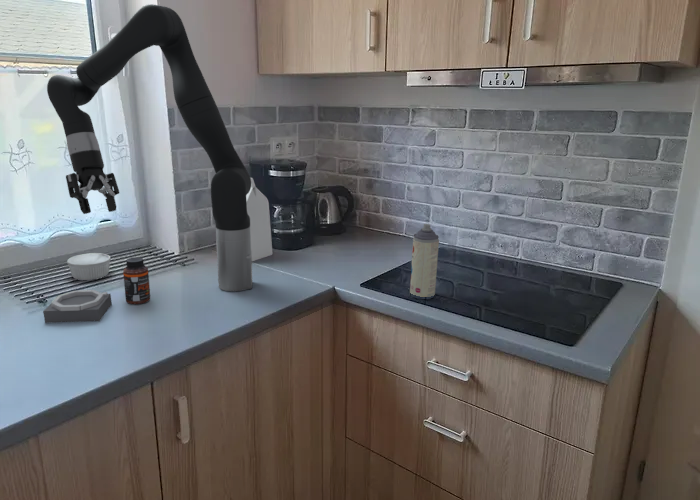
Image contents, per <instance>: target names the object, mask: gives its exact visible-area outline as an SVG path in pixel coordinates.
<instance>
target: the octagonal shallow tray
mask: <svg viewBox="0 0 700 500" xmlns="http://www.w3.org/2000/svg"><path fill="white" fill-rule="evenodd" d="M112 305H113V304H112V295H111V293H108V292H106V291H103V292H100V291H98V290H95V289H86V290H85V289H81V290H80V289H78V290H72V291H69V292H66V293H63V294H59V295H57V296H56V297H54V299H53V300H52V301H51V302H50V304H49V305H48V306H47V307H46V308H45V309H44V310H43V312H42V313H43V318H44V324H56V323H57V324H58V323H59V324H60V323H61V324H62V323H84V322H86V323H87V322H101V320H102V319H103V318H104V316H105V315H106V313H107V312H108V310H109V309H110V308H111V306H112Z"/></svg>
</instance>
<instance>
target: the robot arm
mask: <svg viewBox="0 0 700 500" xmlns="http://www.w3.org/2000/svg"><path fill="white" fill-rule="evenodd" d="M153 46H156V47H157V46H158V47H159V48H160V50H161V52H162V54H163V56H164V57H165V60H166V62H167V64H168V66H169V69H170V73H171V77H172V88H173V96H174V101H175V103H176V107H177V109H178V111H179V114H180V116H181V118H182V120H183V122H184V124H185V126H186V128H187V129H188V130H189V132H190V134H191V135H192V136H193V137H194V139H195V140H196V141H197V142H198V143H199V144H200V146H201V148H202V149H204V151H205V152H206V154H207V155H208V158H209V160H210V161H211V164H212V167H213V169H214V172H215V174H214V175H213V177H212V178H211V182H210V197H211V198H210V199H211V211H212V216H213V220H214V222H215V223H214V225H215V241H216V243H215V244H216V259H217V260H216V262H217V281H218V288H219V289H220V290H221V291H226V292H242V291H245V290H249V289H250V290H251V289H252V288H253V261H252V251H251V234H250V217H249V215H248V213H247V202H246V195H247V194H248V193H249V191H250V188H251V178H252V177H251V176H250V174H249V172H248V169H247V168H246V166H245V165H244V162H242V160H241V158H240V156H239V154H238V153H237V151H236V149H235V147H234V145H233V143H232V140H231V138H230V135H229V132H228V130H227V127H226V125H225V123H224V120H223V118H222V115H221V113H220V111H219V108H218V106H217V103H216V102H215V98H214V96H213V95H212V92H211V90H210V88H209V86H208V83H207V82H206V79H205V77H204V74H203V73H202V71H201V68H200V66H199V64H198V62H197V60H196V58H195V55H194V51H193V49H192V47H191V43H190V40H189V38H188V34H187V31H186V27H185V26H184V22H183V20H182V18H181V17H180V15H179V14H178V13H177V12H176V11H175V10H174V9H173V8H170V7H168V6H165V5H164V6H163V5H159V4H154V3H153V4H146V5H143V6H142V7H140V8H139V9H138V10H137V11H136V12H135V13H134V14H133V15H132V16H131V17H130V19H129V20H128V21H127V22H126V24H125V25H124V26H122V28H120V30H119V31H118V32H117V33H116V34H115V35H114V36H113V37H112V38H111V39H109V41H107V43H105V44H104V45H103V46H102V47H100V48H99V49H97V50H96V51H95V52H94V53H92V54H91V55H90V56H88V57H86V59H84V60H83V61H81V62H80V63H79V64H78V65H77V67H76V70H75V72H76V76H77V77H76V78H73V77H70V76H68V75H67V76H66V75H62V74H55V75H52V76H51V77H50V78H49V79H48V82H47V85H46V91H47V96H48V98H49V101H50V103H51V105H52V106H53V108H54V111H55V112H56V114H57V116H58V118H59V119H60V121H61V122H62V127H63V130H64V134H65V135H64V136H65V138H66V139H65V140H66V146H67V151H68V154H69V157H70V162H71V166H72V170H73V173H69V174H66V175H65V180H66V185H67V190H68V195H69V197H70V198H71V199H76V200H77V201H78V204H79V207H80V208H79V209H80V211H81V212H82V214H83V215H87V214H90V213H92V210H91V206H90V203H89V199H88V194H89V192H90V191H98V192H99V193H100V194H102V196H103V197H105V202H106V207H107V210H108V212H109V213H110V212H115V211H117V203H116V199H115V196H117V195H119V194H120V190H119V186H118V183H117V182H118V181H117V180H116V176H115V174H114V173H113V172H109V173H107V174H106V173H105V172H104V167H105V164H104V160H103V156H102V152H101V148H100V144H99V141H98V140H99V139H97V136H96V133H95V130H94V126H93V120H92V118H91V116H90V114H88V113H87V112H86V111H83V110H82V109H81V108H79V107H80V106H81V107H82V106H85V105H87V104H88V103H90V102H91V101H92V99H94V98H95V95H96V94H97V93H98V92H99V90H100V88H101V87H102V86H104V85H106V84H107V83H108V82H110V81H111V80H113V79H114V78H115V77H116V76H117V75H118V74H120V73H121V72H122V70H124V68H125V67H126V65H127V64H128V62H129V61H130V60H131V59H132V58H133V57H134V56H136V55H137V54H138V53H141V52H142V51H144V50H146V49H149V48H150V47H153Z"/></svg>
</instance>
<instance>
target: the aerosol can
mask: <svg viewBox="0 0 700 500" xmlns="http://www.w3.org/2000/svg"><path fill="white" fill-rule="evenodd" d="M412 238H413V239H412V249H411V250H412V252H411V254H412V255H411V269H410V283H409V294H410V293H411V294H413V295H416V296H420V297H431V296H434V295H436V286H437V285H436V284H437V270H438V259H439V257H438V256H439V245H440V239H439V235H438V234H436V232H435V231H434V230H433V229H432V228H431V224H430V223H423V227H422V228H421V229H420V230H419V231H417V232H415V233H414V234H413V237H412Z"/></svg>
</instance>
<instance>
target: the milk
mask: <svg viewBox="0 0 700 500" xmlns="http://www.w3.org/2000/svg"><path fill="white" fill-rule="evenodd" d="M250 178H251V188H250V191H249V193H248V194H247V195H246V202H247V213H248V215H249V217H250V234H251V251H252V262H254V261H257V260H260V259H264V258H266V257H269V256H272V255H273V245H272V244H273V243H272V241H273V240H272V230H271V217H270V203H269V199H268V198H267V196H266V195H265V194H263V193H262V192H261V191H260V189H258V187H256V184H255V181H254V178H253V177H250Z"/></svg>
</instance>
